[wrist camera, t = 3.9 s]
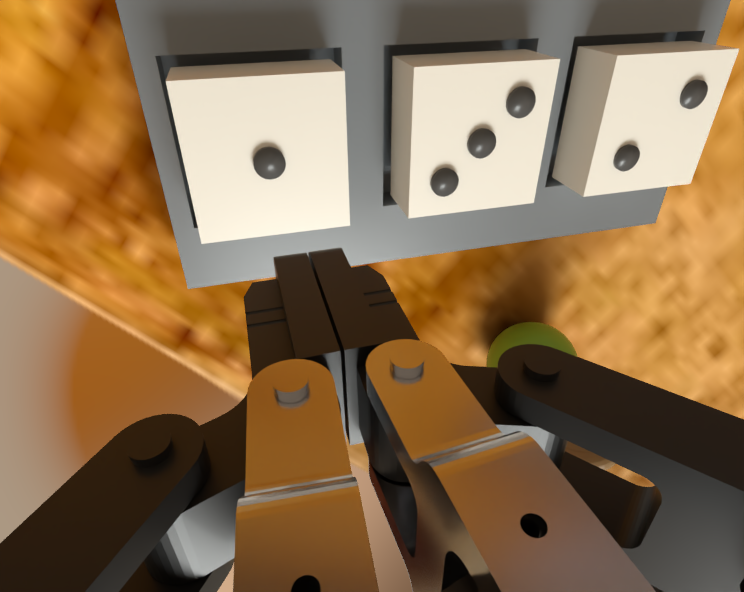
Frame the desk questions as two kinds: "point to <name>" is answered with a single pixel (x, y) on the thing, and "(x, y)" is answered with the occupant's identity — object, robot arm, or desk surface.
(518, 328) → the snail figurine
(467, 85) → the tile three dots
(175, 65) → the socket board
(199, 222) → the tile one dot
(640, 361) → the desk surface
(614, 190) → the tile two dots
